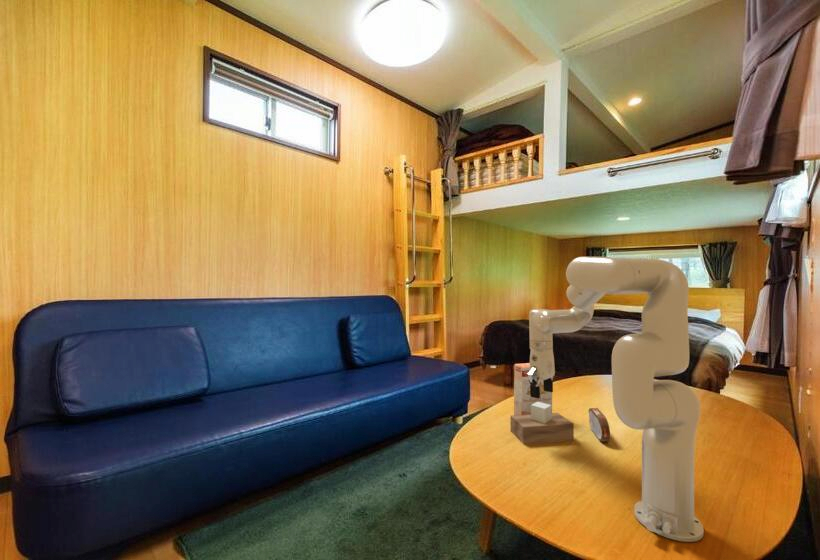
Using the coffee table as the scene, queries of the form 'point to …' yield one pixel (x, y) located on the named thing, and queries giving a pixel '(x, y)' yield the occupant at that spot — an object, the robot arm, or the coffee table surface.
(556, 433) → the walnut block
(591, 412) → the tin
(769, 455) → the coffee table surface
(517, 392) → the cracker box
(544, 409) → the white cube
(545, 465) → the coffee table surface
